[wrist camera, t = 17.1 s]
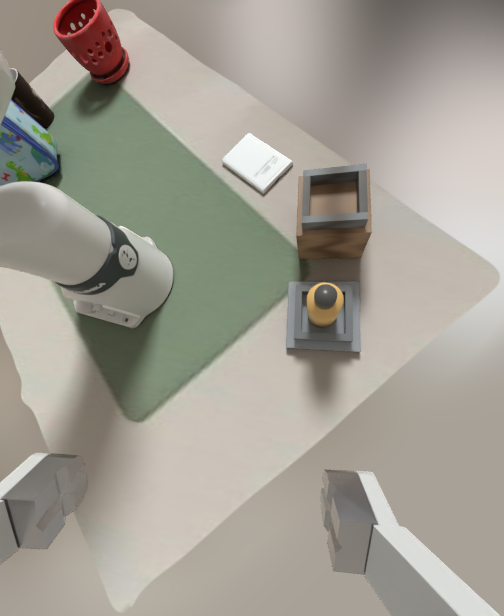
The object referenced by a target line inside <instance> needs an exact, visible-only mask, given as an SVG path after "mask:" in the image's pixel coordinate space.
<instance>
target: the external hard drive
mask: <svg viewBox="0 0 504 616" xmlns="http://www.w3.org/2000/svg"><path fill="white" fill-rule="evenodd" d="M222 163H223V164H224V165H225V166H226V167H228V168H229V169H230V170H232V171H233V172H234V173H236V174H237V175H238V176H240V177H241V178H242V179H244V180H245V181H247V182H248V183H249V184H251V185H252V186H253V187H255V188H256V189H257V190H259V191H260V192H261V193H263V194H264V193H265V192H266V191H267V190H268V189H269V188H270V187H271V186H272V185H273V184H274V183H275V182H276V180H277V179H278V178H279V177H281V176H282V175H283V174H284V173H285V172H286V171H287V170H288V169H289V168H290V167H291V166H292V165H293V161H291V160H290V159H288V158H287V157H285V156H284V155H282V154H281V153H279V152H278V151H276V150H274V149H273V148H271V147H270V146H268V145H267V144H265V143H264V142H262V141H261V140H259V139H258V138H256V137H254V136H253V135H251V134H250V133H248V134H247V135H246V136H245V137H244V138H243V139H242V140H241V141H240V142H239V143H238V144H237V145H236V146H235V147H234V148H233V149H232V150H231V151H230V152H229V153H228V154H227V155H226V156H225V157H224V158H223V159H222Z"/></svg>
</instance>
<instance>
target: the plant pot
mask: <svg viewBox="0 0 504 616" xmlns="http://www.w3.org/2000/svg"><path fill="white" fill-rule="evenodd" d="M93 9H95V10H96V12H94V10H93ZM81 13H83V14H85V19H83V18H82V17H81ZM91 18H92V19H91ZM89 19H91V20H90V22H89ZM79 22H82V24H83V26H82V27H80V26H79V24H78V23H79ZM71 23H73V24H74V25H75V27H76V29H75V30H72V29H71V27H70V24H71ZM53 29H54V33H55V35H56V36H57V37H58V39H59V40H60V42H61V43H62V44H63V45H64V47H65V48H66V49H67V50H68V51H69V52H70V54H71V55H72V56H73V57H74V58H75V59H76V60H77V61H78V62H79V63H80V64H81V65H82V66H83V67H84V68H85V69H87V70H88V71H90V74H91V77H92V78H93V79H94V80H95V81H96V82H98V83H101V84H109V83H113V82H115V81H116V80H118V79H119V78H120V77H121V76H122V75H123V74H124V73H125V71H126V70H127V67H128V62H129V58H128V54H127V52H126V50H125V49H124V48H123V47H121V43H120V40H119V37H118V34H117V31H116V29H115V27H114V25H113V23H112V21H111V19H110V17H109V15H108V13H107V12H106V10H105V8H104V6H103V5H102V3H101V1H100V0H70V1H69V2H67V3H66V4H65V5H64V6H63V7H62V8H61V10H60V11H59V12H58V14H57V16H56V18H55V20H54V25H53ZM68 32H70V33H71V34H70V35H67V33H68Z"/></svg>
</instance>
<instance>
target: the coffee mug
mask: <svg viewBox="0 0 504 616" xmlns="http://www.w3.org/2000/svg"><path fill="white" fill-rule="evenodd" d="M10 71H11V74H12V76H13V80H14V83H15V90H14V92H13V95H12V98H11V100H12V101H13V102H15V103H16V104H17V105H18V106H19V107H20V108H22V109H23V110H24V111H25V112H26V113H27V114H29V115H30V116H31V117H32V118H33V119H34V120H35V121H37V122H38V123H39V124H40V125H41V126H42V127H43V128H44V129H45V128H47V127H48V126H49V125H50V124H51V123H52V122H53V120H54V113H53V112H52V111H51V110H50V109H49V107H48V106H47V105H46V104H45V103H44V102H43V100H42V99H41V98H40V97H39V96H38V95H37V93H36V92H35V91H34V90H33V89H32V88H31V86H30V85H29V84H28V83H27V82H26V81H25V80H24V78H23V77H22V76H21V75H20V74H19V72H18V71H17V70H16V69H14V68H10Z"/></svg>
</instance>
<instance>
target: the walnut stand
mask: <svg viewBox="0 0 504 616" xmlns="http://www.w3.org/2000/svg"><path fill="white" fill-rule="evenodd" d="M371 233H372V227H371V199H370V171H369V169H367V165H366V164H359V165H350V166H341V167H332V168H323V169H314V170H305V171H303V176H300V177H299V182H298V209H297V235H296V236H297V245H298V253H299V259H321V258H358V257H361V256H362V253H363V251H364V249H365V246H366V244H367V242H368V240H369V237H370V235H371Z"/></svg>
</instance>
